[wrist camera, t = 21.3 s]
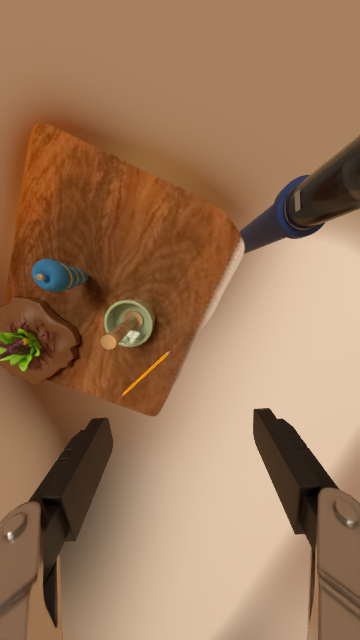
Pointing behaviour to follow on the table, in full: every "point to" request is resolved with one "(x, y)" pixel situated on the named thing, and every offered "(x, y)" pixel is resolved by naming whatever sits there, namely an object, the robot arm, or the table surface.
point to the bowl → (116, 317)
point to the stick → (122, 329)
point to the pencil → (147, 372)
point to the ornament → (57, 275)
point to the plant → (35, 339)
